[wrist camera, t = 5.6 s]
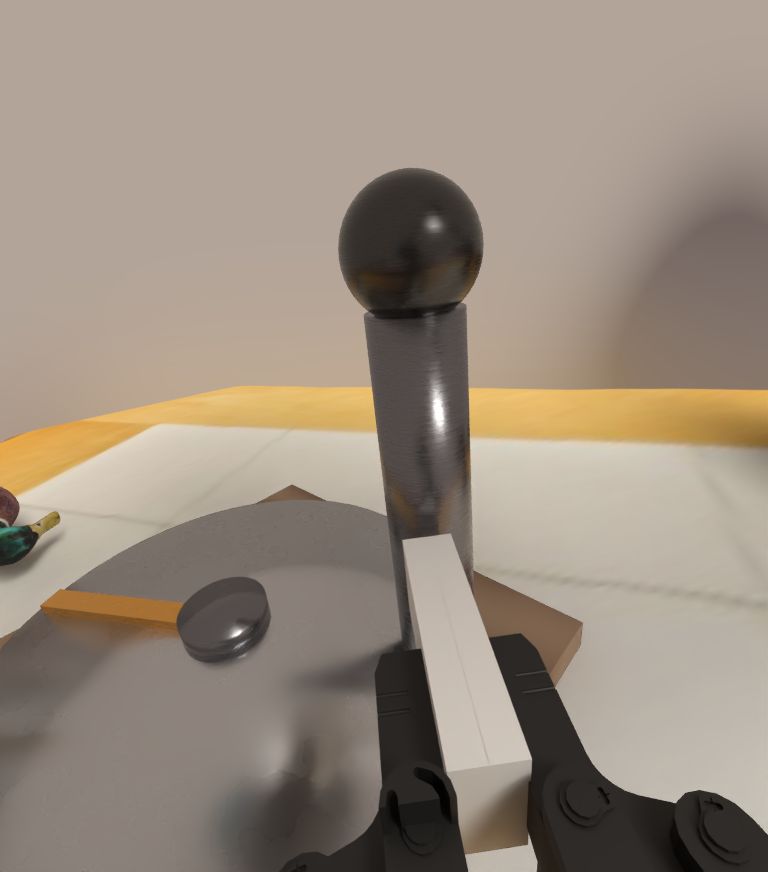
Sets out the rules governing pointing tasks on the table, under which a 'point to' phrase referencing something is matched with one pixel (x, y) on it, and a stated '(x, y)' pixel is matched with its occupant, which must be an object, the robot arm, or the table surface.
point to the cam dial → (254, 614)
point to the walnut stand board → (498, 612)
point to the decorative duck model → (19, 530)
